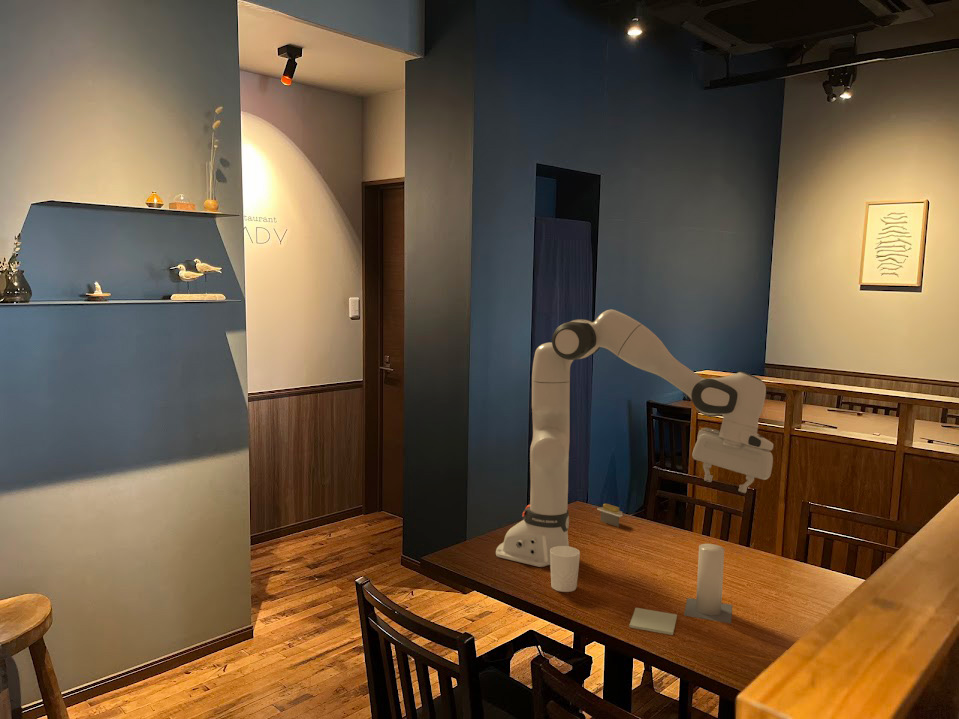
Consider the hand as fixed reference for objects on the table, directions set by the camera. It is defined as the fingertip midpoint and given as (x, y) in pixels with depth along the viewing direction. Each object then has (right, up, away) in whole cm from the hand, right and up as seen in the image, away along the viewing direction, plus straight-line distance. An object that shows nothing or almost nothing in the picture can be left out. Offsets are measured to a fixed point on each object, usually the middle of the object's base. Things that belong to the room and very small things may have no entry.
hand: (724, 486), depth 187 cm
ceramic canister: (-7, -30, -7) cm, 31 cm away
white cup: (-41, -28, +5) cm, 50 cm away
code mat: (-7, -30, -7) cm, 31 cm away
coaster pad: (-22, -30, -14) cm, 40 cm away
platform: (-19, -24, +59) cm, 66 cm away
